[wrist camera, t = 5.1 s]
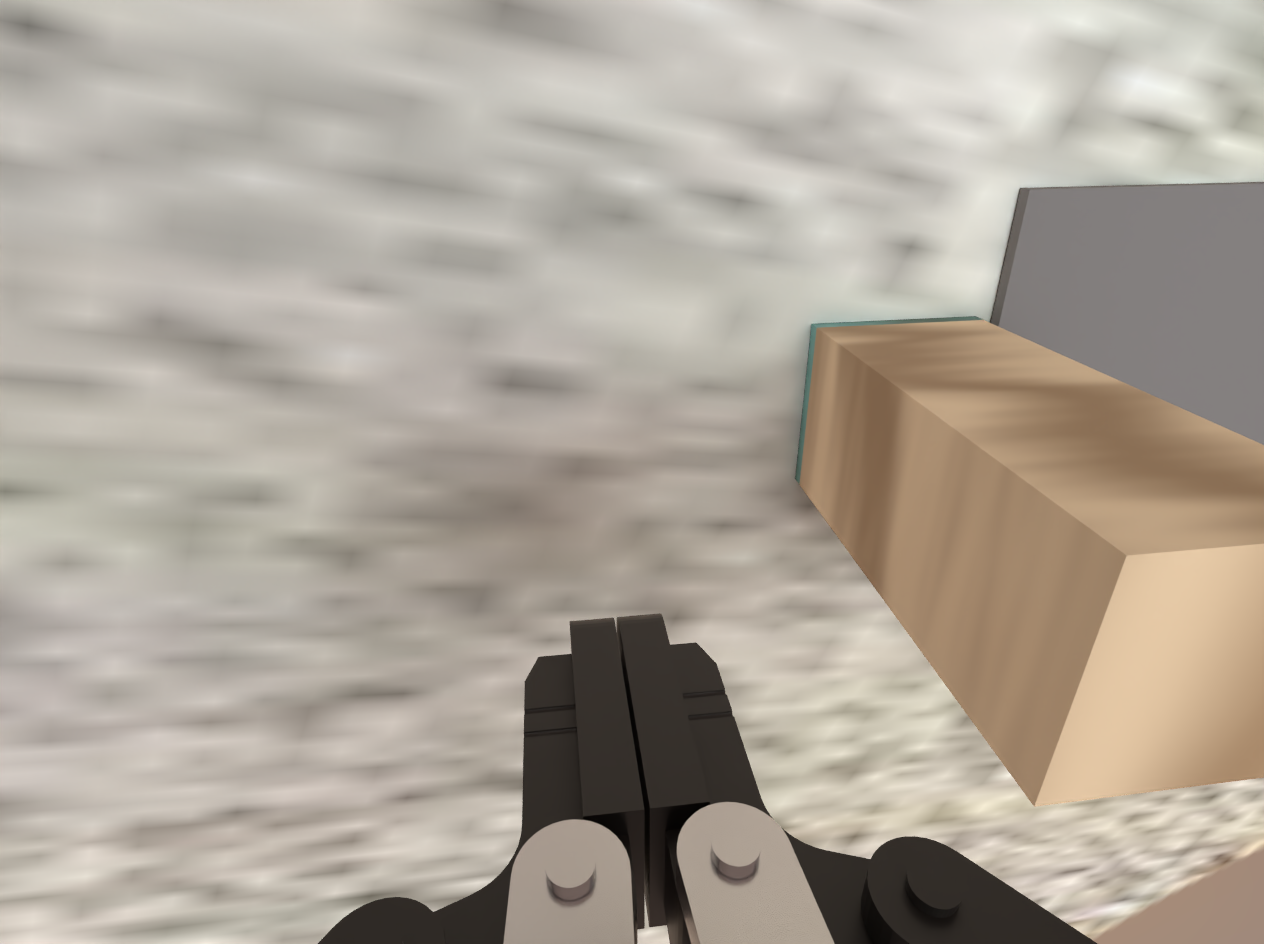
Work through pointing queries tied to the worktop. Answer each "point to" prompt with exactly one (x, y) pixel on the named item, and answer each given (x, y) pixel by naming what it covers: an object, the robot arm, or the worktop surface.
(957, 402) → the maple block
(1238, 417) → the slate mat
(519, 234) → the worktop surface
